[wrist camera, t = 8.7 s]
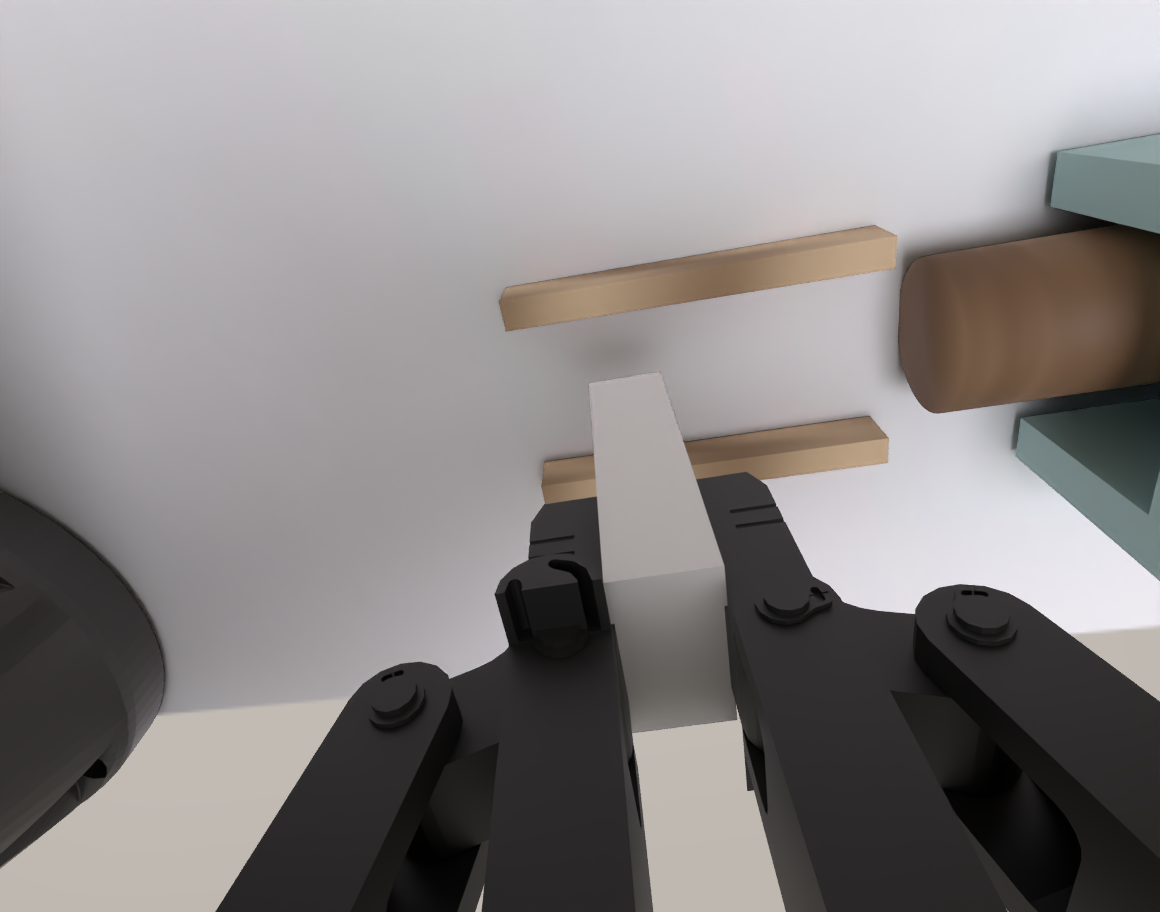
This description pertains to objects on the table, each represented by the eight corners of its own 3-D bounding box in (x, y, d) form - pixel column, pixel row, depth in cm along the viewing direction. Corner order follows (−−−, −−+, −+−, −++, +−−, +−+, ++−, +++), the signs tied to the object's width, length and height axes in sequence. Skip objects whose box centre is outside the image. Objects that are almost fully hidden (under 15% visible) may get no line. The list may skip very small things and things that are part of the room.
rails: (549, 484, 22) (546, 509, 21) (506, 287, 19) (498, 301, 18) (869, 439, 21) (887, 462, 20) (875, 225, 18) (897, 235, 17)
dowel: (901, 400, 20) (967, 427, 16) (893, 259, 19) (962, 252, 15) (1195, 357, 19) (1341, 375, 15) (1202, 209, 18) (1357, 187, 14)
